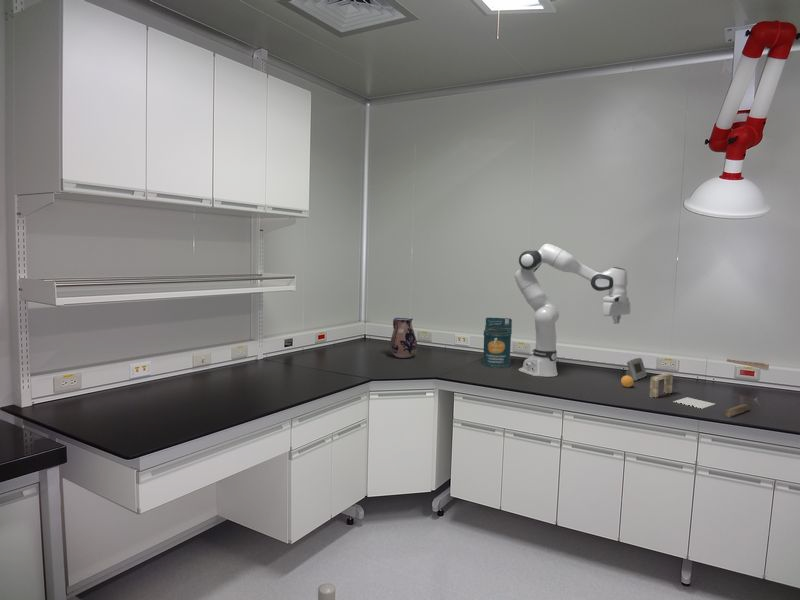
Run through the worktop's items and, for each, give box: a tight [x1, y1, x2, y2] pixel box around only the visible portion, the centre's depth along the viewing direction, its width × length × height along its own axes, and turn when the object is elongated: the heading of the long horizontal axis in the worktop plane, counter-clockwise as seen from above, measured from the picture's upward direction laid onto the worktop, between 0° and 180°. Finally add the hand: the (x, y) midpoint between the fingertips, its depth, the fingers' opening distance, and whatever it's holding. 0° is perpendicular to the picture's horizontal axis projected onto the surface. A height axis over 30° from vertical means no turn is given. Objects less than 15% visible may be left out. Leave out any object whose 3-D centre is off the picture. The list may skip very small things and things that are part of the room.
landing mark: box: [672, 396, 716, 410], centre depth 246 cm, size 13×13×1 cm
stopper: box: [723, 403, 749, 418], centre depth 232 cm, size 2×18×2 cm, turn 125°
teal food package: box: [482, 317, 513, 369], centre depth 321 cm, size 16×16×28 cm
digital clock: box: [625, 357, 648, 382], centre depth 293 cm, size 16×9×11 cm, turn 123°
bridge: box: [649, 372, 674, 399], centre depth 259 cm, size 3×15×10 cm, turn 125°
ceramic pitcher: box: [389, 317, 418, 359], centre depth 343 cm, size 18×21×25 cm
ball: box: [620, 375, 635, 388], centre depth 274 cm, size 6×6×6 cm
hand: (616, 323), depth 282 cm, fingers closed
